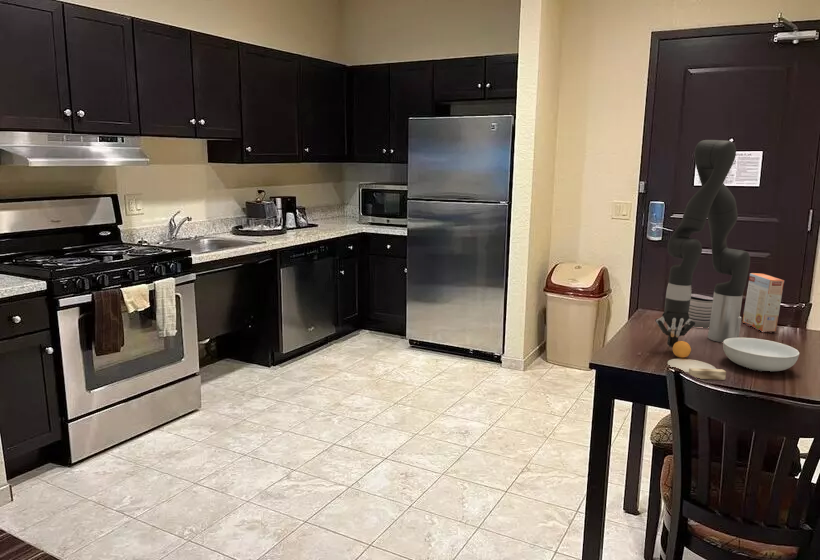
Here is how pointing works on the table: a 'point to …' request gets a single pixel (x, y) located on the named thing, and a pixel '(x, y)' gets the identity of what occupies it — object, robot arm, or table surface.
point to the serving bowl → (760, 354)
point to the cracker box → (763, 301)
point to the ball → (681, 349)
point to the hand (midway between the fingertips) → (671, 346)
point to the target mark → (689, 364)
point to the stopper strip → (708, 373)
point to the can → (700, 310)
